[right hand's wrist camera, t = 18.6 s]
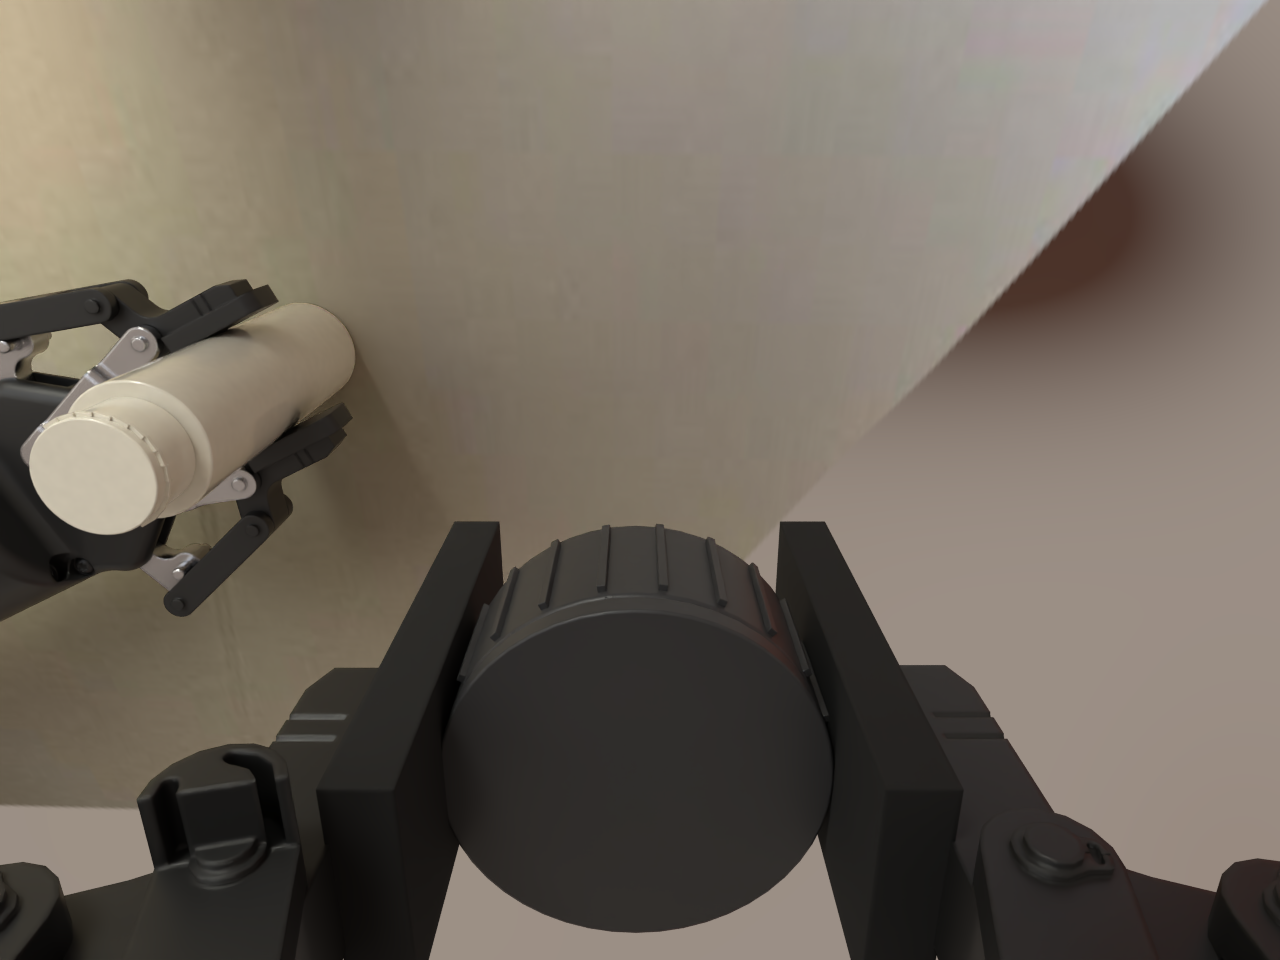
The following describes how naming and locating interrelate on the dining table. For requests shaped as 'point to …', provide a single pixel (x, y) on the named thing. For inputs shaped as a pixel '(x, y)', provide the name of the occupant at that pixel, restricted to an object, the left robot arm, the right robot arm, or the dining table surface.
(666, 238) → the dining table surface
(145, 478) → the jar
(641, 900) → the lid
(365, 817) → the right robot arm
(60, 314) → the left robot arm
